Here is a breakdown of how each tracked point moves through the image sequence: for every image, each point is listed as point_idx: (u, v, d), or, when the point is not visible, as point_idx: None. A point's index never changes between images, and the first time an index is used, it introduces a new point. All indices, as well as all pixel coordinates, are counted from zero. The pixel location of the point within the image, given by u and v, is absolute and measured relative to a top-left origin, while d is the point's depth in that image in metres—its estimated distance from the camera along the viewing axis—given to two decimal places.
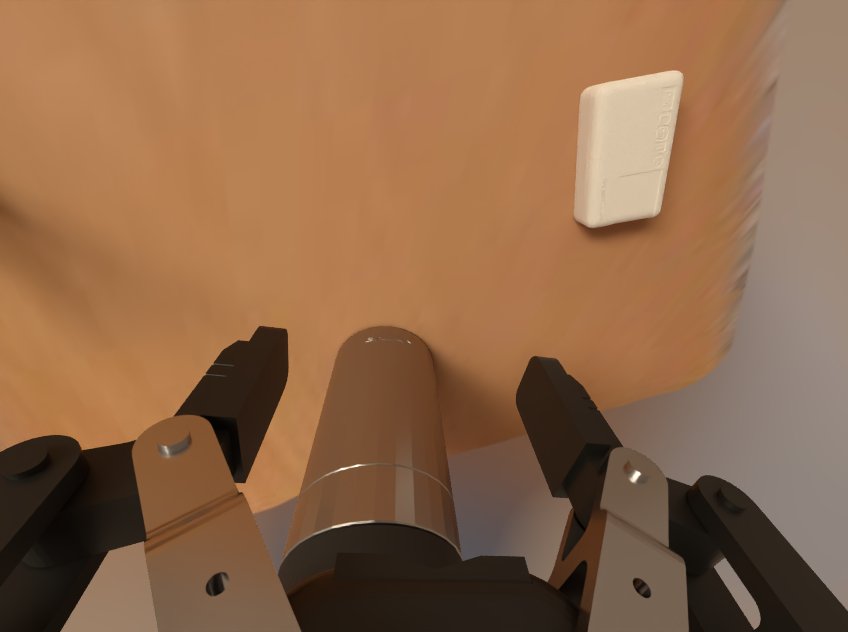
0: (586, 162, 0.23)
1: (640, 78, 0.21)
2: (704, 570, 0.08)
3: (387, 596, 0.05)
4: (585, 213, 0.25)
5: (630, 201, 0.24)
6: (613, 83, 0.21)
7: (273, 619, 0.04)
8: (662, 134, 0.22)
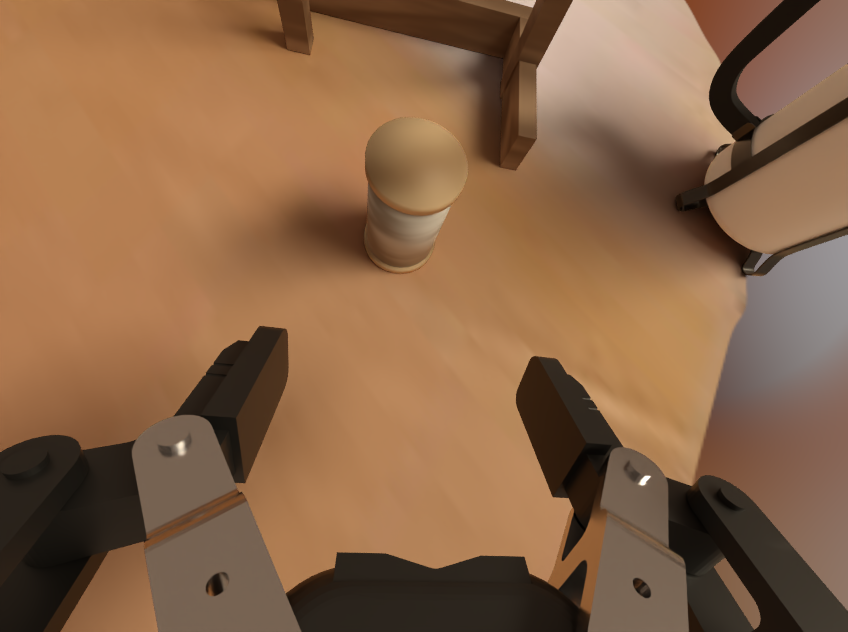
0: None
1: None
2: (704, 570, 0.08)
3: (387, 596, 0.05)
4: None
5: None
6: None
7: (273, 619, 0.04)
8: None
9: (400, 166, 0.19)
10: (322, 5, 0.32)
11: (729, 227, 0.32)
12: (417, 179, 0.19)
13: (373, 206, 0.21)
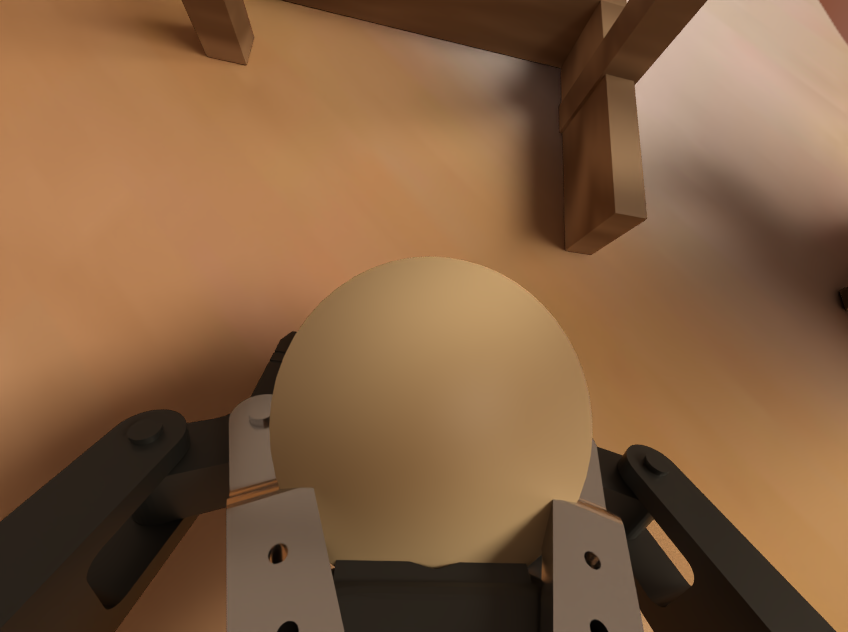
0: None
1: None
2: (638, 533, 0.08)
3: (387, 596, 0.05)
4: None
5: None
6: None
7: (273, 619, 0.04)
8: None
9: (388, 437, 0.06)
10: None
11: None
12: (442, 480, 0.06)
13: None
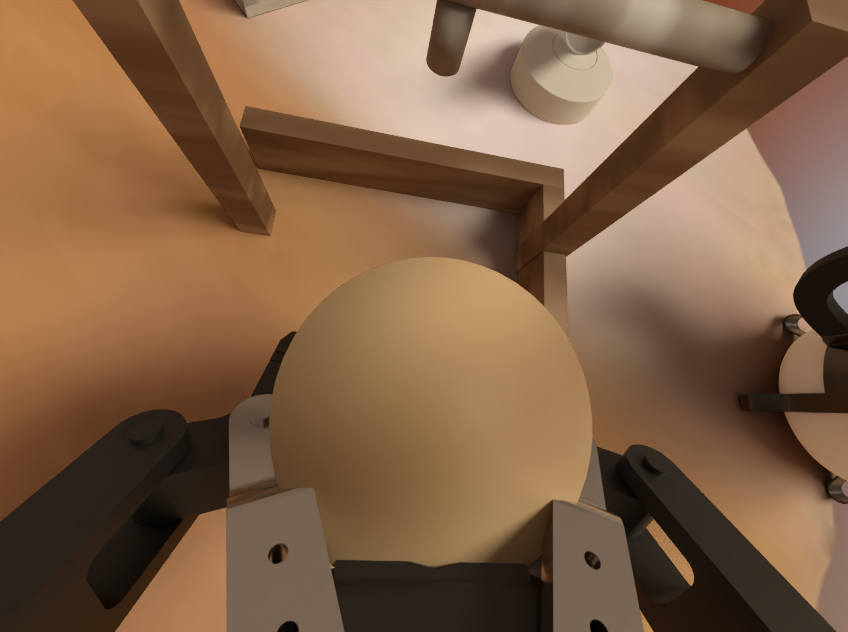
0: None
1: None
2: (638, 533, 0.08)
3: (387, 596, 0.05)
4: None
5: None
6: None
7: (273, 619, 0.04)
8: None
9: (388, 438, 0.06)
10: (287, 167, 0.25)
11: (818, 455, 0.24)
12: (442, 481, 0.06)
13: None
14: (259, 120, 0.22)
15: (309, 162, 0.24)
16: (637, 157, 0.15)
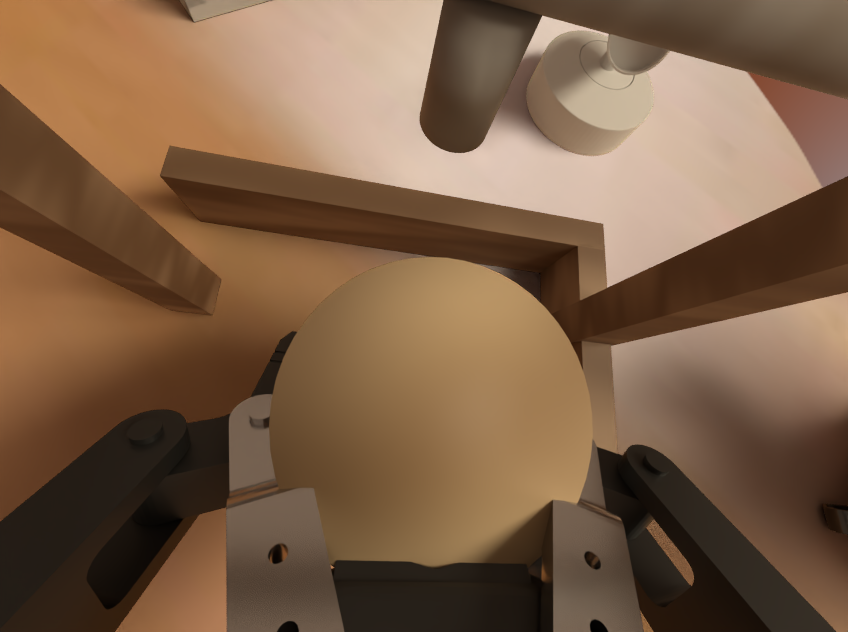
0: None
1: None
2: (638, 533, 0.08)
3: (387, 596, 0.05)
4: None
5: None
6: None
7: (273, 619, 0.04)
8: None
9: (388, 438, 0.06)
10: (238, 220, 0.19)
11: None
12: (442, 481, 0.06)
13: None
14: (189, 166, 0.16)
15: (265, 216, 0.18)
16: (774, 263, 0.09)
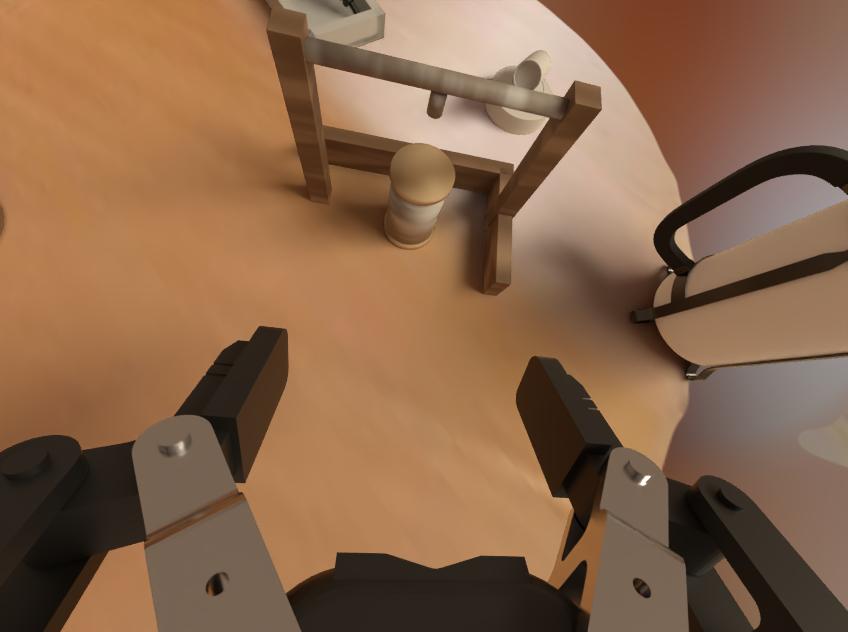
0: None
1: None
2: (704, 570, 0.08)
3: (387, 596, 0.05)
4: None
5: None
6: None
7: (273, 619, 0.04)
8: None
9: (412, 174, 0.30)
10: (339, 161, 0.39)
11: (671, 345, 0.39)
12: (423, 182, 0.30)
13: (394, 200, 0.32)
14: (327, 133, 0.36)
15: (353, 158, 0.39)
16: (533, 156, 0.29)
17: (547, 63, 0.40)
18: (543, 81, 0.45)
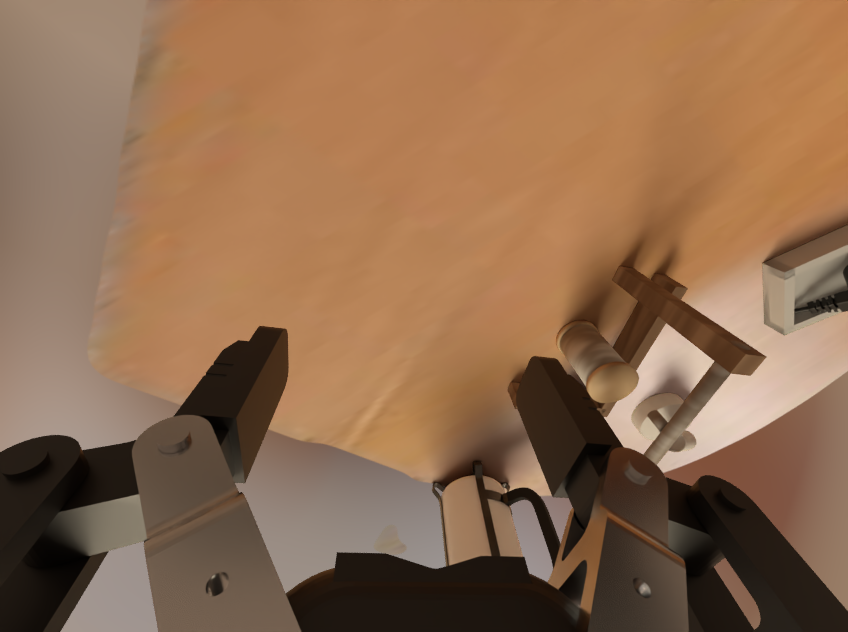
0: None
1: None
2: (704, 570, 0.08)
3: (387, 596, 0.05)
4: None
5: None
6: None
7: (273, 619, 0.04)
8: None
9: (613, 378, 0.40)
10: None
11: (457, 482, 0.60)
12: (604, 384, 0.40)
13: (597, 354, 0.41)
14: (676, 295, 0.41)
15: None
16: None
17: None
18: None
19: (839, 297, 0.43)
